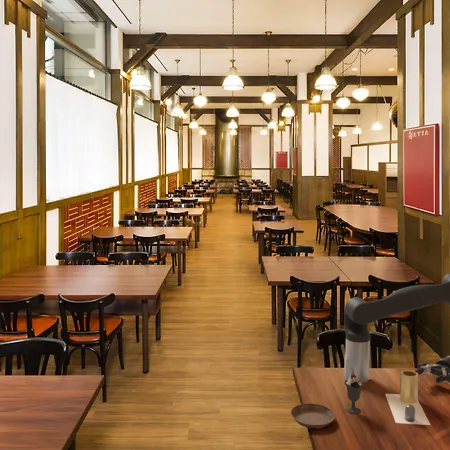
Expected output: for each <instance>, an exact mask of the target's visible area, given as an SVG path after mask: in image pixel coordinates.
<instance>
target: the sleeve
mask: <svg viewBox="0 0 450 450" xmlns="http://www.w3.org/2000/svg"><path fill="white" fill-rule="evenodd" d="M399 375H400V376H399V399H400V400H401V401H402V402H404V403H409V404H414V403H416V402H417V399H418V392H419V390H418V389H419V375H418V373H417V372H415V370H409V369H404V370H400V374H399Z"/></svg>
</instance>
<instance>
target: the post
mask: <svg viewBox="0 0 450 450" xmlns="http://www.w3.org/2000/svg"><path fill="white" fill-rule="evenodd" d="M405 420H406V421H409V422H413V421H415V408H414V406H413V405H407V406H406V407H405Z"/></svg>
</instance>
